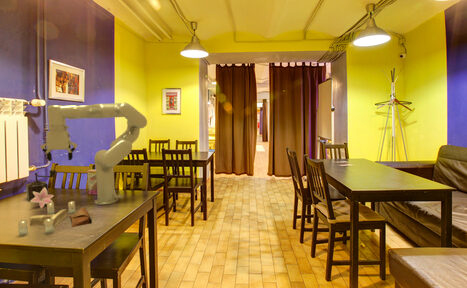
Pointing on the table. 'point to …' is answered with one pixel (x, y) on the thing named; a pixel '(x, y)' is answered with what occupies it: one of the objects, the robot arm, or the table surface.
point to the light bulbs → (48, 222)
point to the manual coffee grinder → (37, 186)
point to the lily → (42, 197)
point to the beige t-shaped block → (56, 217)
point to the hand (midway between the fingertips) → (60, 160)
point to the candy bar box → (92, 182)
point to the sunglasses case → (81, 218)
